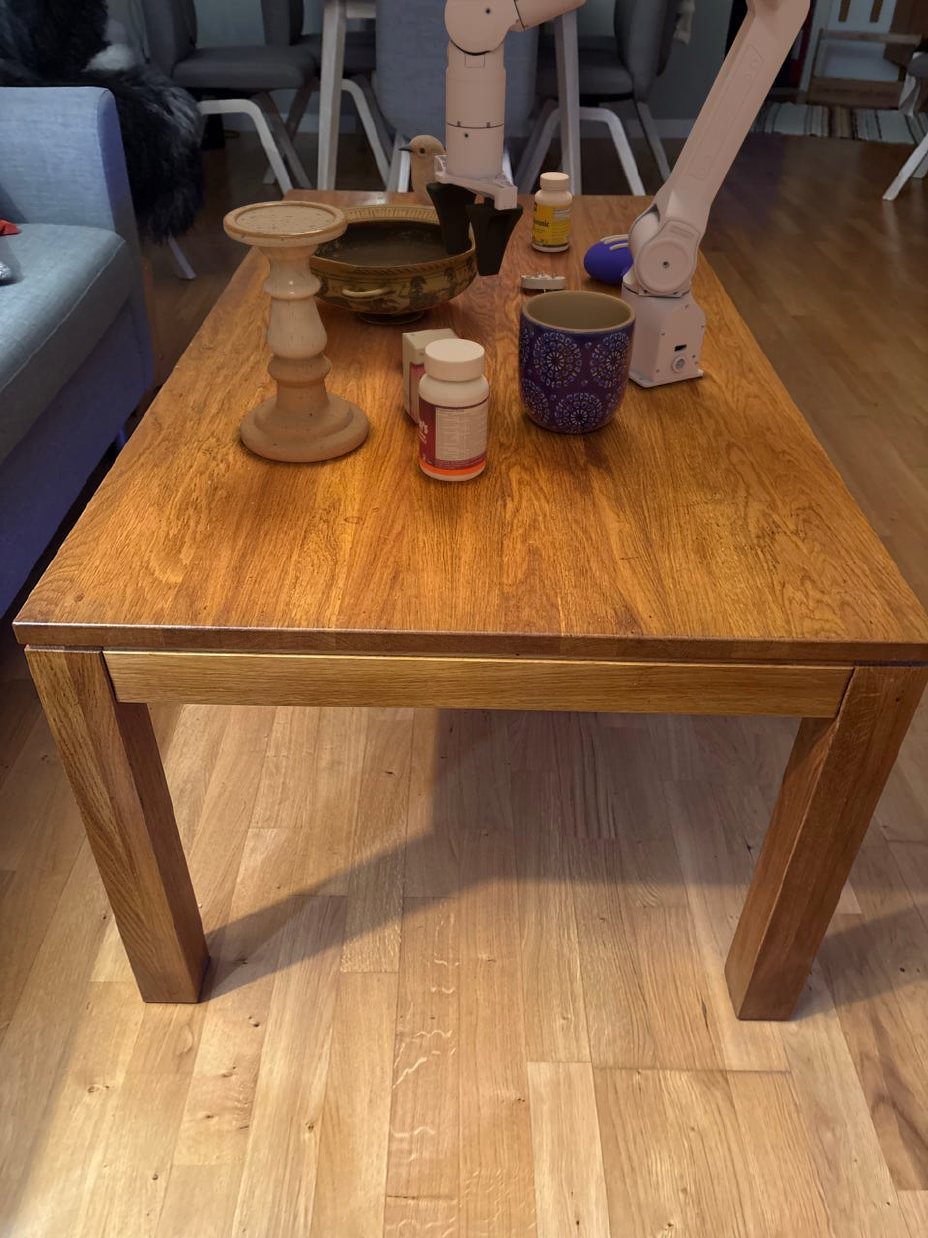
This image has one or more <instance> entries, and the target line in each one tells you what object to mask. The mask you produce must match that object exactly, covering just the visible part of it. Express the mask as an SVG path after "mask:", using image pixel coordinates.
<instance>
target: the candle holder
mask: <svg viewBox="0 0 928 1238" xmlns="http://www.w3.org/2000/svg"><path fill="white" fill-rule="evenodd" d="M338 208H339V207H337V206H334V205H330V204H326V203H321V202H315V201H308V200H307V201H306V200H274V201H273V200H272V201H264V202H263V201H262V202H257V203H253V204H247V205H245V206H241V207H237V208H235V209H233V210H231V211H230V212H228V213H227V214H225V216H224V217H223V220H222V226H223V230H224V232H225V235H226V236H227V237H228V238H230V239H232V240H234V241H236V242H239V243H242V244H246V245H249V246H253V247H254V246H255V247H257V249H258V250H259V252H260V253H261V254H262V255H264V256H265V257H266V258H267V261H268V263H269V268H270V271H269V276H268V277H267V278H266V279H265V280H264V282H263V284H262V289H263V292H264V293H265V294H267V295H268V296H269V297H270V313H269V321H268V325H267V330H266V336H265V341H266V345H267V349H269V351H270V352H271V353H272V354H274V355H273V356H272V358H271V359H270V360H269V362H268V363H267V367H266V371H267V372H268V375H269V377H271V378H273V380H274V381H275V382H276V394H274V395H272V396H270V397H268V398H266V399H265V400H263V401H262V402H261V403H259V404H257V405H255V406H254V407H252V408H251V409H249V411H248V412H246V413H245V415H244V416H243V417H242V419H241V421H240V426H239V434H240V438H241V441H242V443H243V444H244V446H245V447H246V448H247V449H249V451H251V452H252V453H254V454H256V455H257V456H260V457H263V458H266V459H269V460H274V461H278V462H286V463H314V462H321V461H327V460H330V459H331V460H332V459H334V458H338V457H341V456H343V455H347V454H348V453H350V452H352V451H354V450H356V448H358V447H359V446H361V444H363V443H364V441H366V439H367V437H368V434H369V429H370V425H369V423H370V422H369V418H368V416H367V414H366V412H365V411H364V410H363V408H361V407H360V406H359V405H357V404H356V403H354V402H352V401H351V400H348V399H346V398H343V397H342V396H339V395H337V394H335V393H333V392H329V391H327V388H326V382H325V379H326V378H327V377H328V375H329V374H330V372H331V370H332V363H331V361H330V360H329V359H328V357H326V356H325V355H324V353H323V351H324V349H325V348H326V347H327V343H328V335H327V332H326V328H325V326H324V324H323V322H322V319H321V316H320V313H319V310H318V306H317V302H316V296H315V295H314V294H316V293H317V292H318V291H319V290H320V287H321V284H320V281H319V280H318V279H317V278H316V277H315V276H314V275H313V274H312V273H311V270H310V258H311V255H312V254H313V253H314V252H315V251H316V249H317V247H318V244H321V243H324V242H327V241H330V240H333V239H335V238H337V237H339V236H341V235H342V234H343V233H344V232H345V231H346V229H347V226H348V220H347V216H346V214H345V213H344V212H343V211H342V210H340V209H338Z"/></svg>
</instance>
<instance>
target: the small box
mask: <svg viewBox="0 0 928 1238" xmlns="http://www.w3.org/2000/svg"><path fill="white" fill-rule="evenodd" d="M442 339H460V338H459V336H458V335H457V334H456V333H455V331H453V329H452V328H449V327H448V328H440V329H425V330H420V331H411V332H402V361H403V370H402V385H403V388H402V389H403V393H402V394H403V395H402V396H403V397H402V398H403V407H404V409H405V411H406V413H407V414H408V415H409V417H410V418H411V419H412V420H413V422H414V424H419V382H420V380H421V378H422V377H423V376H424V374H426V371H425V369H424V362H425V348H426V346H427V345H428V344H430V343H432V342H434V341H438V340H442Z"/></svg>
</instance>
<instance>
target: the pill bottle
mask: <svg viewBox="0 0 928 1238" xmlns="http://www.w3.org/2000/svg"><path fill="white" fill-rule="evenodd" d="M485 356H486V352H485V348H484V347H483V345H481V344H479V343H477V342H475V341H473V340H469V339H464V338H463V339H462V338H459V339H442V340H438V341H434V342H432V343H430V344H428V345H427V346H426V348H425V362H424V369H425V371H426V374H424V376H423V377H422V378H421V380H420V382H419V423H418V461H419V462H418V463H419V467H420V469H421V470H422V472H423V473H424V474H425V475H427V476H428V477H431V478H433V479H434V480H438V481H443V482H463V481H464V482H465V481H469V480H472V479H474V478H476V477H477V476H478V475H480V474H481V473H482V472H483V471H484V470H485V468H486V463H487V446H488V445H487V444H488V443H487V442H488V419H489V396H490V385H489V382H488V379H487V378H486V377H485V375H484V374H483V373H485V366H486V365H485V360H486V359H485Z"/></svg>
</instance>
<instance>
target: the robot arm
mask: <svg viewBox="0 0 928 1238" xmlns="http://www.w3.org/2000/svg"><path fill="white" fill-rule="evenodd" d="M586 2H587V0H446V2H445V8H444V24H445V28H446V31H447V33H448V36H449V37H450V38H449V39H448V44H447V48H446V57H447V61H448V65H447V67H446V70H445V152H446V155H440V156H434V175H435V180H436V181H438V182H435V183H429V184H427V185H426V190H427V192H428V194H429V196H430V198H431V200H432V202H433V204H434V207H435V210H436V212H437V216H438V219H439V223H440V227H441V232H442V237H443V242H444V246H445V250H446V253H447V254H448V255H454V254H461V253H466V249H467V245H468V238H469V228H470V222H471V226H472V229H473V234H474V240H475V250H476V264H477V270H478V272H477V275H478V276H480V277H483V278H484V277H490V276H497V275H499V273H500V271H501V268H502V264H503V260H504V256H505V253H506V250H507V247H508V243H509V240H510V238H511V236H512V234H513V231H514V229H515V227H516V225H517V224H518V222H519V221H520V219H521V218H522V216H523V215H524V205H522V204H520V203H518V189H519V188H518V186H516V185H515V184H513V183H512V182H511V181H510V178H509V177H508V175H507V174H506V172H505V170H504V169H503V168H504V167H503V162H504V140H505V139H504V138H505V137H504V136H505V112H506V111H505V109H506V87H507V86H506V84H507V70H506V68H505V65H504V63H505V62H504V58H505V37H506V35H507V33H508V32H510V31H513V32H516V33H523V32H525V31H527V30H530V29H532V28H534V27H536V26H539V25H540V24H543V23H545V22H547V21H549V20H552V19H554V18H556V17H559V16H561V15H562V14H566V13H568V12H571V11H572V10H574V9H577V8H579V7H581V6H584V4H585V3H586ZM745 3H746V6H747V12H746V14H745V16H744V19H743V21H742V24H741V25H740V27H739V29H738V31H737V33H736V36H735V38H734V40H733V41H732V42H733V43H732V44H731V46H730V49H729V51H728V53H727V55H726V57H725V59H724V61H723V63H722V66H721V68H720V69H719V72H718V73H717V76H716V78H715V80H714V82H713V84H712V86H711V89H710V90H709V93H708V95H707V97H706V100H705V101H704V103H703V105H702V108H701V110H700V112H699V114H698V115H697V118H696V120H695V123H694V124H693V127H692V128H691V131H690V133H689V135H688V137H687V139H686V141H685V144H684V146H683V148H682V150H681V152H680V154H679V156H678V158H677V160H676V163H674V166H673V169H672V171H671V173H670V175H669V177H668V178H667V180H666V181H665V182H664V183H663V185H662V186H661V187H660V188H659V189H658V191H656V193H655V195H654V198H653V200H652V202H651V204H650V205H649V206H648V208H646V210H644V211H643V212H642V213H641V214H640V215H638V216H637V218H635V219H634V221H633V222H632V224H631V227H630V229H629V230H628V233H627V234H628V247H629V251H630V253H631V255H632V257H633V262H634V263H633V265H632V266H631V268H630V270H629V271H628V272H627V273H626V274H625V275H624V277H623V284H621V291H620V292H621V293H620V299H621V300H623V301H625V302H627V303H628V304H630V305H631V306H632V307H633V308H634V310H635V311H636V328H635V337H634V345H633V353H632V359H631V366H630V373H629V378H628V379H631V380H632V381H634V382H635V383H636V384H638V385H639V386H641V387H642V388H652V387H657V386H660V385H661V386H662V385H666V384H671V383H675V382H679V381H680V382H681V381H684V380H689V379H694V378H698V377H702V376H704V373H705V371H704V370H703V369H701V368H700V367H699V366H700V362H701V355H702V350H703V343H704V338H705V332H706V328H707V327H706V326H707V316H706V313H705V311H704V309H703V308H702V307H701V305H700V304H698V303H697V302H696V301H695V299H694V297H693V294H692V283H693V282H692V279H693V276H694V274H695V272H696V269H697V267H698V266H697V265H698V250H699V246H700V243H701V241H702V239H703V237H704V235H705V233H706V229H707V225H708V220H709V216H710V211H711V207H712V204H713V202H714V199H715V198H716V195H717V194H718V191H719V190H720V188H721V186H722V184H723V182H724V181H725V178H726V176H727V174H728V172H729V170H730V168H731V166H732V164H733V162H734V160H735V158H736V156H737V154H738V153H739V151H740V148H741V147H742V144H743V143H744V141H745V138H746V137H747V135H748V133H749V131H750V129H751V127H752V125H753V123H754V121H755V119H756V117H757V115H758V113H759V112H760V109H761V107H762V105H763V104H764V101H765V99H766V97H767V95H768V93H769V92H770V90H771V87H772V86H773V84H774V82H775V79H776V78H777V75H778V74H779V72H780V71H781V68H782V65H783V64H784V62H785V60H786V58H787V56H788V54H789V52H790V50H791V48H792V46H793V44H794V42H795V40H796V38H797V36H798V34H799V33H800V30H801V29H802V26H803V25H804V23H805V21H806V19H807V16H808V13H809V10H810V6H811V0H745ZM477 196H479V197H481V198H483V202H479V203H478V202H477V203H476V198H477ZM474 202H475V203H476V204H474Z"/></svg>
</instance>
